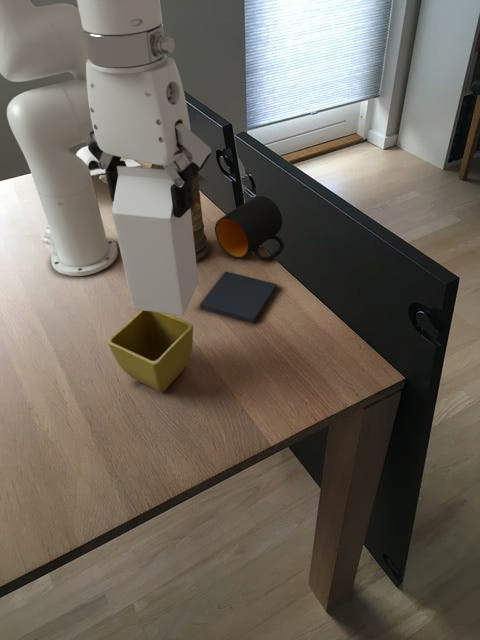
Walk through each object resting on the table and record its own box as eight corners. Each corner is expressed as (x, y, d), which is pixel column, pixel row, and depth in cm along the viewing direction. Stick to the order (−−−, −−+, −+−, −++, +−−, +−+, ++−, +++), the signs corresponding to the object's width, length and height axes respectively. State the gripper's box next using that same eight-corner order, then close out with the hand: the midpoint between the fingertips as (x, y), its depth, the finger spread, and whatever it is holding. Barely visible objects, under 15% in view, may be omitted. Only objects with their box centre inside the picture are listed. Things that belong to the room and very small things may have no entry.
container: (154, 259, 103) (138, 172, 91) (175, 235, 109) (163, 150, 97) (196, 268, 100) (185, 180, 88) (215, 243, 106) (208, 157, 94)
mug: (284, 255, 108) (252, 280, 102) (243, 214, 109) (209, 235, 104) (302, 231, 101) (269, 255, 95) (259, 187, 103) (223, 208, 97)
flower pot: (164, 408, 76) (155, 364, 70) (117, 384, 80) (105, 341, 74) (200, 368, 81) (194, 324, 75) (155, 348, 85) (146, 304, 79)
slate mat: (200, 308, 92) (199, 304, 91) (226, 275, 98) (225, 271, 98) (253, 323, 88) (253, 319, 88) (276, 288, 95) (276, 284, 94)
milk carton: (183, 316, 71) (165, 186, 58) (133, 310, 72) (104, 181, 59) (198, 283, 76) (185, 156, 63) (151, 277, 77) (128, 152, 64)
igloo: (48, 184, 114) (40, 158, 111) (50, 174, 131) (44, 152, 129) (141, 165, 118) (135, 141, 116) (131, 158, 136) (126, 137, 133)
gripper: (223, 43, 52) (231, 204, 64) (79, 27, 58) (111, 176, 69) (183, 68, 47) (200, 236, 59) (31, 47, 53) (74, 204, 65)
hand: (151, 203), depth 64 cm, fingers closed on milk carton, 8 cm apart
